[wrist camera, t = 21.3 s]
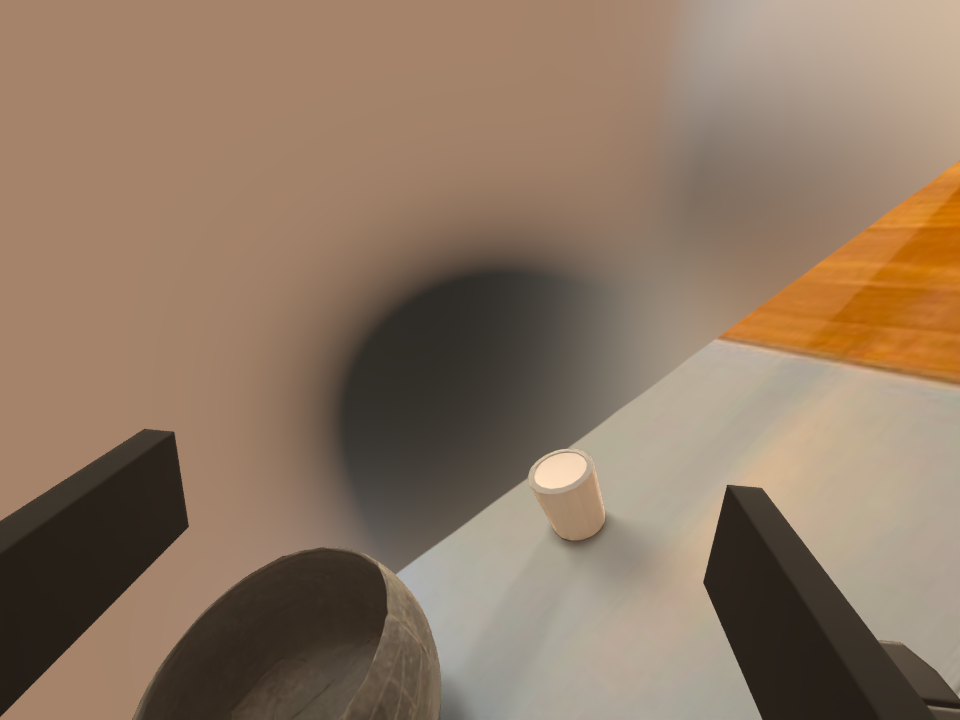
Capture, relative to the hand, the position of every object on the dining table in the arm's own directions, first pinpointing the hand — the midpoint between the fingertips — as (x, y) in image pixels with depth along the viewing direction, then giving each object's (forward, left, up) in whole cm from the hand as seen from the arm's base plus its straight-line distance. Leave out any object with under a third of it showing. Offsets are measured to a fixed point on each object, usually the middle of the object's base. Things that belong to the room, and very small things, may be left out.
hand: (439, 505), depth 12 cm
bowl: (+24, +8, -32) cm, 41 cm away
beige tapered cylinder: (+26, -21, -32) cm, 46 cm away
